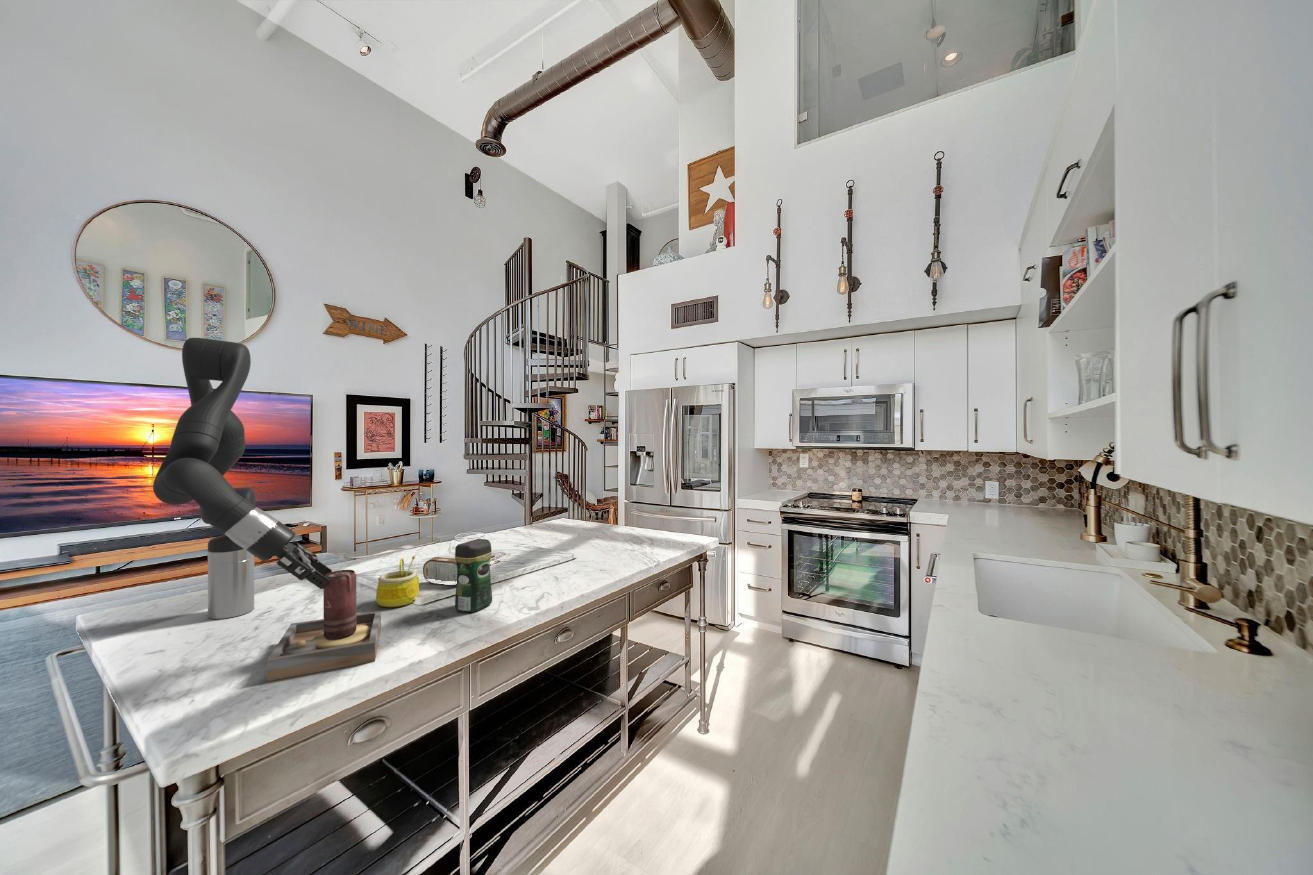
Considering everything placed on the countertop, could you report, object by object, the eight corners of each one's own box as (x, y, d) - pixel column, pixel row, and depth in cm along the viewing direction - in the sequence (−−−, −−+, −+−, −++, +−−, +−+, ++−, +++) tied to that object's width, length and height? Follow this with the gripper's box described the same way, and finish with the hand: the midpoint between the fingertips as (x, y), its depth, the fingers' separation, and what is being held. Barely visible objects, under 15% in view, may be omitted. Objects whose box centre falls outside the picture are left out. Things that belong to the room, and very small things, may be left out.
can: (341, 641, 102) (341, 577, 102) (316, 639, 103) (316, 575, 103) (363, 630, 108) (363, 569, 108) (340, 627, 109) (340, 568, 109)
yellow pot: (396, 611, 127) (396, 567, 127) (366, 606, 131) (366, 563, 131) (433, 596, 139) (433, 556, 139) (404, 592, 143) (404, 552, 143)
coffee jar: (474, 599, 137) (475, 535, 137) (496, 603, 134) (497, 538, 134) (448, 611, 128) (449, 542, 128) (471, 615, 125) (472, 545, 125)
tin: (468, 585, 150) (468, 558, 150) (462, 588, 147) (462, 561, 147) (427, 581, 154) (427, 555, 154) (420, 584, 151) (421, 558, 150)
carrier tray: (291, 640, 109) (291, 619, 109) (380, 626, 117) (381, 606, 117) (267, 681, 91) (266, 655, 91) (374, 661, 99) (375, 637, 99)
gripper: (272, 526, 94) (341, 574, 100) (281, 515, 106) (343, 559, 112) (236, 556, 91) (310, 604, 97) (250, 541, 103) (315, 584, 109)
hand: (327, 579), depth 105 cm, fingers open, 8 cm apart
